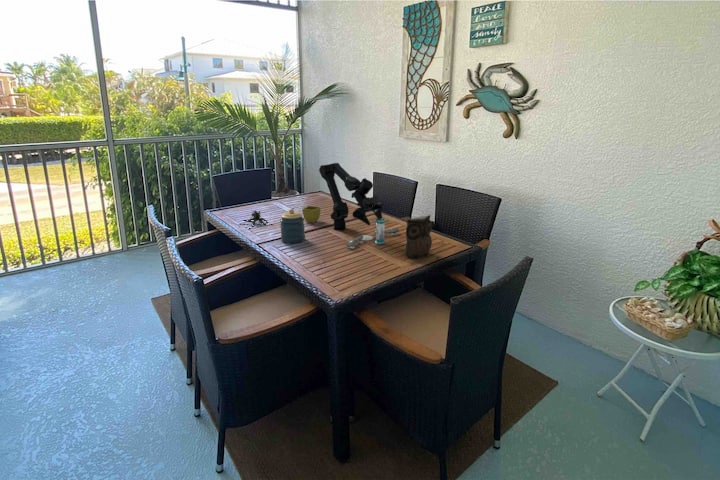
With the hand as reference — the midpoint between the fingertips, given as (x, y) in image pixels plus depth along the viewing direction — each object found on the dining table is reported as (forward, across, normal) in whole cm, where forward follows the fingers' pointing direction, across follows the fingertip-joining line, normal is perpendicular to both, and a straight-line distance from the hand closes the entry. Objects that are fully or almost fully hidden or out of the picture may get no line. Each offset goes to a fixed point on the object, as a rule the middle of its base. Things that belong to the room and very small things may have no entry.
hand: (376, 223), depth 211 cm
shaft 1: (+5, -12, +10) cm, 16 cm away
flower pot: (-31, -4, +45) cm, 55 cm away
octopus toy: (-46, -32, +60) cm, 82 cm away
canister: (-16, -32, +30) cm, 46 cm away
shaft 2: (+5, +12, +10) cm, 16 cm away
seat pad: (+2, 0, +13) cm, 13 cm away
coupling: (+10, 0, +5) cm, 11 cm away
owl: (+26, +2, -11) cm, 28 cm away
